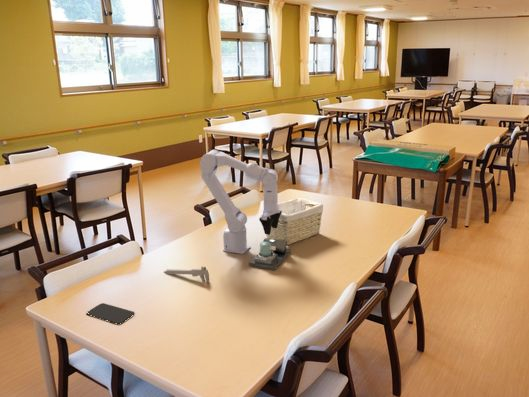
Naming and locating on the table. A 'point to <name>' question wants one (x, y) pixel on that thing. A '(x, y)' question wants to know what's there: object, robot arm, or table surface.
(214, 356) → the table surface
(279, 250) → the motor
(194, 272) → the caliper
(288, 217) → the storage basket
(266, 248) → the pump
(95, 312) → the phone
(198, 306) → the table surface
